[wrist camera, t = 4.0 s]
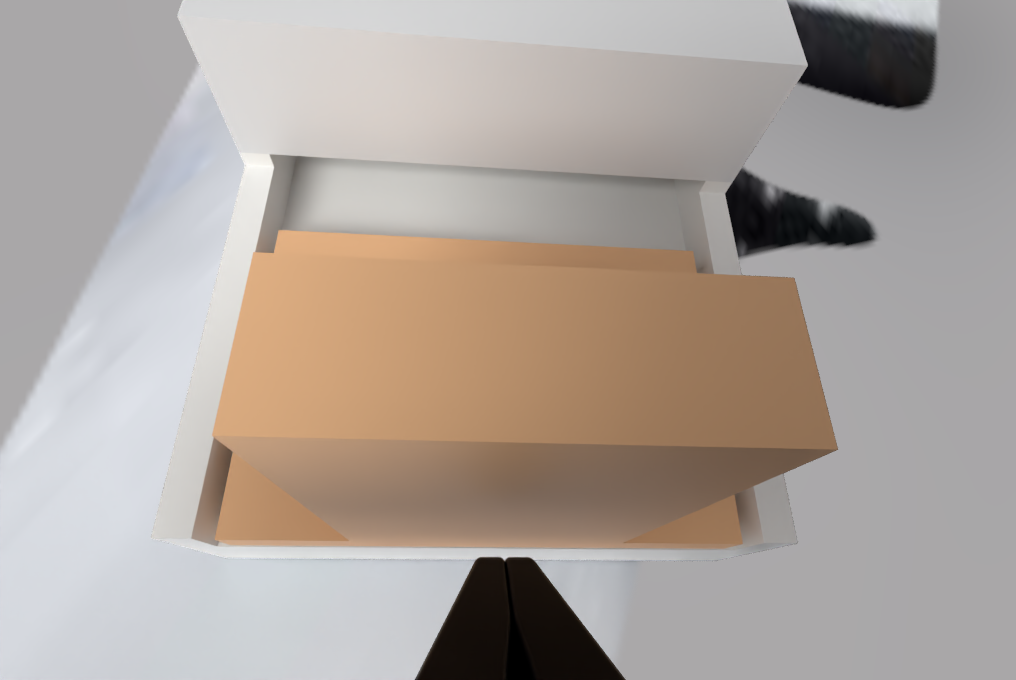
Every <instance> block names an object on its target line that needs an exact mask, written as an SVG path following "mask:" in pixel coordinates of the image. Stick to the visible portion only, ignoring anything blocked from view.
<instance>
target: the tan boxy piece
mask: <svg viewBox="0 0 1016 680" xmlns="http://www.w3.org/2000/svg"><path fill="white" fill-rule="evenodd" d="M212 436H213V437H214V438H215V439H217V440H218V441H219V442H221V443H222V444H223V445H225V446H226V447H227V448H228V449H230V450H231V451H232V452H233V453H232V458H231V463H230V467H229V472H228V477H227V482H226V487H225V492H224V496H223V501H222V506H221V511H220V516H219V521H218V525H217V530H216V535H215V540H216V541H219V542H222V543H225V544H228V545H269V546H411V547H552V548H693V549H725V548H729V547H733V546H737V545H741V544H743V541H742V535H741V530H740V524H739V518H738V512H737V506H736V500H735V494H737V493H739V492H741V491H744V490H746V489H748V488H751V487H753V486H755V485H758V484H760V483H762V482H765V481H767V480H769V479H771V478H774V477H776V476H778V475H781V474H783V473H785V472H788V471H790V470H792V469H795V468H797V467H799V466H801V465H803V464H806V463H808V462H811V461H813V460H815V459H817V458H820V457H822V456H825V455H827V454H829V453H831V452H833V451H836V450H838V448H837V444H836V440H835V436H834V432H833V428H832V424H831V420H830V416H829V412H828V408H827V405H826V400H825V396H824V392H823V389H822V385H821V381H820V377H819V373H818V369H817V365H816V361H815V357H814V353H813V349H812V345H811V342H810V338H809V334H808V330H807V326H806V322H805V318H804V314H803V310H802V306H801V302H800V298H799V294H798V290H797V286H796V282H795V279H794V278H788V277H786V278H785V277H767V276H745V275H725V274H704V273H697V270H696V265H695V259H694V253H693V251H684V250H664V249H645V248H625V247H605V246H585V245H566V244H546V243H526V242H507V241H487V240H467V239H448V238H428V237H408V236H388V235H369V234H349V233H329V232H310V231H290V230H279V231H278V236H277V240H276V245H275V250H274V253H262V252H253V256H252V260H251V265H250V269H249V274H248V278H247V282H246V287H245V291H244V296H243V300H242V305H241V309H240V313H239V318H238V322H237V327H236V331H235V336H234V340H233V344H232V349H231V353H230V358H229V362H228V367H227V371H226V375H225V380H224V384H223V389H222V393H221V398H220V402H219V407H218V411H217V415H216V420H215V424H214V429H213V433H212Z"/></svg>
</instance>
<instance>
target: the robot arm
mask: <svg viewBox="0 0 1016 680" xmlns="http://www.w3.org/2000/svg"><path fill="white" fill-rule="evenodd" d="M415 680H625V678H624V677H623V676H622V674H621V673H620V672H619V670H618V669H617V668H616V667H615V665H614V664H613V663H612V661H611V660H610V659H609V657H608V656H607V655H606V654H605V652H604V651H603V650H602V648H601V647H600V646H599V644H598V643H597V642H596V641H595V639H594V638H593V637H592V635H591V634H590V633H589V631H588V630H587V629H586V627H585V626H584V625H583V624H582V622H581V621H580V620H579V618H578V617H577V616H576V614H575V613H574V612H573V611H572V609H571V608H570V607H569V605H568V604H567V603H566V601H565V600H564V599H563V598H562V596H561V595H560V594H559V592H558V591H557V590H556V588H555V587H554V586H553V584H552V583H551V582H550V581H549V579H548V578H547V577H546V575H545V574H544V573H543V571H542V570H541V569H540V568H539V566H538V565H537V564H536V562H535V561H534V560H533V559H532V558H530V557H508V558H506V560H505V562H504V560H503V558H501V557H479V558H477V559H476V561H475V563H474V564H473V566H472V568H471V570H470V572H469V574H468V576H467V578H466V580H465V582H464V584H463V586H462V588H461V590H460V592H459V594H458V596H457V598H456V600H455V602H454V604H453V606H452V608H451V610H450V612H449V614H448V616H447V618H446V620H445V622H444V623H443V625H442V627H441V629H440V631H439V633H438V635H437V637H436V639H435V641H434V643H433V645H432V647H431V649H430V651H429V653H428V655H427V657H426V659H425V661H424V663H423V665H422V667H421V669H420V671H419V673H418V675H417V677H416V679H415Z"/></svg>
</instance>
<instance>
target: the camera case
mask: <svg viewBox="0 0 1016 680" xmlns="http://www.w3.org/2000/svg"><path fill="white" fill-rule="evenodd" d="M177 16H178V19H179V21H180V23H181V25H182V27H183V29H184V32H185V34H186V36H187V39H188V41H189V43H190V45H191V47H192V49H193V52H194V54H195V56H196V58H197V61H198V63H199V65H200V67H201V69H202V72H203V74H204V76H205V78H206V80H207V83H208V85H209V87H210V89H211V91H212V94H213V96H214V98H215V100H216V102H217V105H218V107H219V109H220V111H221V114H222V116H223V118H224V120H225V122H226V125H227V127H228V129H229V131H230V133H231V136H232V138H233V140H234V142H235V144H236V147H237V149H238V151H239V153H240V155H241V158H242V160H243V162H244V164H245V167H244V171H243V175H242V179H241V183H240V187H239V191H238V195H237V199H236V203H235V207H234V211H233V215H232V218H231V222H230V226H229V230H228V234H227V238H226V242H225V246H224V250H223V254H222V258H221V262H220V266H219V270H218V274H217V278H216V282H215V286H214V290H213V294H212V298H211V302H210V306H209V309H208V313H207V317H206V321H205V325H204V329H203V333H202V337H201V341H200V345H199V349H198V353H197V357H196V361H195V365H194V369H193V373H192V377H191V381H190V385H189V389H188V393H187V396H186V400H185V404H184V408H183V412H182V416H181V420H180V424H179V428H178V432H177V436H176V440H175V444H174V448H173V452H172V456H171V460H170V464H169V468H168V472H167V476H166V480H165V483H164V487H163V491H162V495H161V499H160V503H159V507H158V511H157V515H156V519H155V523H154V527H153V531H152V535H151V538H152V539H155V540H159V541H163V542H167V543H170V544H174V545H178V546H182V547H185V548H189V549H193V550H197V551H201V552H204V553H208V554H212V555H216V556H219V557H223V558H250V559H439V560H476V559H477V558H479V557H501V558H503V560H506V558H508V557H530V558H532V559H533V560H629V561H718V560H723V559H727V558H732V557H737V556H741V555H745V554H750V553H755V552H760V551H765V550H769V549H774V548H779V547H783V546H788V545H793V544H797V543H798V541H797V536H796V532H795V527H794V523H793V517H792V512H791V508H790V503H789V498H788V493H787V488H786V484H785V479H784V474H781V475H778V476H776V477H774V478H771V479H769V480H767V481H765V482H762V483H760V484H758V485H755V486H753V487H751V488H748V489H746V490H744V491H741V492H739V493H737V494H735V500H736V506H737V512H738V518H739V524H740V530H741V535H742V541H743V544H741V545H737V546H733V547H729V548H725V549H693V548H552V547H411V546H269V545H228V544H225V543H222V542H219V541H216V540H215V535H216V530H217V525H218V521H219V516H220V511H221V506H222V501H223V496H224V492H225V487H226V482H227V477H228V472H229V467H230V463H231V458H232V453H233V452H232V451H231V450H230V449H228V448H227V447H226V446H225V445H223V444H222V443H221V442H219V441H218V440H217V439H215V438H214V437H213V436H212V433H213V429H214V424H215V420H216V415H217V411H218V407H219V402H220V398H221V393H222V389H223V384H224V380H225V375H226V371H227V367H228V362H229V358H230V353H231V349H232V344H233V340H234V336H235V331H236V327H237V322H238V318H239V313H240V309H241V305H242V300H243V296H244V291H245V287H246V282H247V278H248V274H249V269H250V265H251V260H252V256H253V252H262V253H274V250H275V245H276V240H277V236H278V231H279V230H290V231H310V232H329V233H349V234H369V235H388V236H408V237H428V238H448V239H467V240H487V241H507V242H526V243H546V244H566V245H585V246H605V247H625V248H645V249H664V250H684V251H693V253H694V259H695V265H696V270H697V273H704V274H725V275H742V273H741V269H740V264H739V259H738V254H737V249H736V245H735V240H734V235H733V230H732V225H731V221H730V216H729V211H728V206H727V201H726V197H725V193H726V191H727V190H728V188H729V187H730V185H731V184H732V182H733V181H734V179H735V177H736V176H737V174H738V173H739V171H740V170H741V168H742V167H743V165H744V164H745V162H746V160H747V159H748V157H749V156H750V154H751V153H752V151H753V150H754V148H755V147H756V145H757V143H758V142H759V140H760V139H761V137H762V136H763V134H764V133H765V131H766V130H767V128H768V126H769V125H770V123H771V122H772V120H773V119H774V117H775V116H776V114H777V113H778V111H779V110H780V108H781V106H782V105H783V103H784V102H785V100H786V98H787V97H788V95H789V94H790V93H791V91H792V89H793V88H794V86H795V85H796V83H797V82H798V80H799V79H800V77H801V76H802V74H803V72H804V71H805V69H806V68H807V66H808V64H807V61H806V58H805V55H804V52H803V49H802V46H801V43H800V40H799V37H798V34H797V31H796V28H795V25H794V22H793V19H792V16H791V13H790V9H789V6H788V3H787V0H183V1H182V4H181V7H180V9H179V12H178V15H177Z"/></svg>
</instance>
